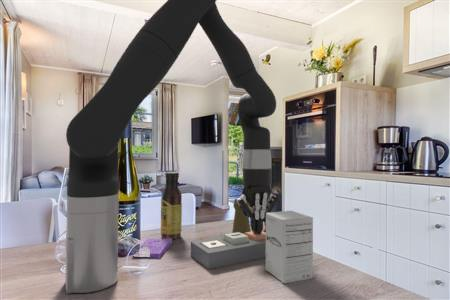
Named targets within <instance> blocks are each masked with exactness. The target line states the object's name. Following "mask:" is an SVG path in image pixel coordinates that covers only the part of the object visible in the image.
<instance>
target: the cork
mask: <svg viewBox="0 0 450 300" xmlns="http://www.w3.org/2000/svg"><path fill="white" fill-rule="evenodd" d="M246 202H247V201H246ZM246 205H247V206H248V202H247V203H246ZM233 208H234V216H233V223H232V232H231V233H236V232H240V233H242V234H243V233H245V232H251V231H252V230H251V221H250V217H247V216H245V215H244V214H243V212H242V211H241V210H240V208H239V207H238V205H237V204H236V203H235V200H234V201H233Z"/></svg>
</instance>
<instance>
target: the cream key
mask: <svg viewBox="0 0 450 300" xmlns="http://www.w3.org/2000/svg"><path fill="white" fill-rule="evenodd" d="M201 245H203V246H204V247H206V248H207V249H213V248H219V247H225V246H226V245H225V244H223V243H221V242H220V241H218V240H216V241H209V242H203V243H201Z"/></svg>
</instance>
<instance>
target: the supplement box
mask: <svg viewBox="0 0 450 300" xmlns="http://www.w3.org/2000/svg"><path fill="white" fill-rule="evenodd" d="M265 233H266V257H265V271H267V272H268V273H270V274H271V275H273V277H275V278H277V279H278V280H279V281H280V282H281V283H282V284H287V283H289V284H290V283H294V282H299V281H306V280H310V279H313V278H314V268H313V267H314V265H313V263H314V259H313V258H314V256H313V255H314V249H313V248H314V245H313V244H314V243H313V242H314V217H313V216H309V215H306V214H304V213H300V212H297V211H293V210H285V211H284V210H283V211H274V212H273V211H271V212H270V213H266V216H265Z"/></svg>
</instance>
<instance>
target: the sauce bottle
mask: <svg viewBox="0 0 450 300" xmlns="http://www.w3.org/2000/svg"><path fill="white" fill-rule="evenodd" d="M164 174H165V175H164V177H165V187H164V189H163V192H162V195H161V198H160V205H161V206H160V236H161V239H164V238H165V239H166V238H167V239H168V238H172V240H174V239H176V240H177V239H179V238H180V237H181V235H182V234H181V233H182V216H183V215H182V213H183V212H182V211H183V209H182V208H183V203H182V197H183V196H182V192H181V190H180V189H179V177H180V172H178V171H166V172H165V173H164Z"/></svg>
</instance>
